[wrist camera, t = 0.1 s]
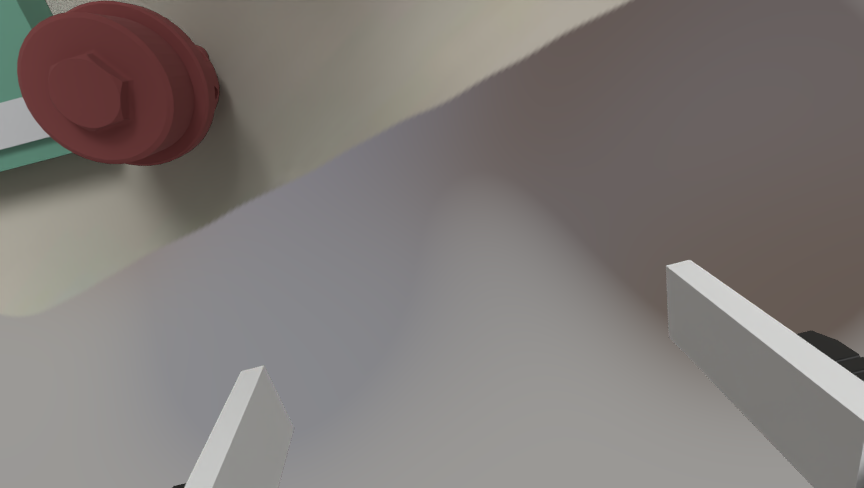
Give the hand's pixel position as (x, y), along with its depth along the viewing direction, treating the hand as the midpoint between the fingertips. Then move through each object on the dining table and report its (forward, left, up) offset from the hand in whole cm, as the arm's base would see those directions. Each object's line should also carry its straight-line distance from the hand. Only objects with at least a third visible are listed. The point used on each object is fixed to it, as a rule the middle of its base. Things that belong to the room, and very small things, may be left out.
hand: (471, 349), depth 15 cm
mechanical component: (-11, -17, -28) cm, 35 cm away
